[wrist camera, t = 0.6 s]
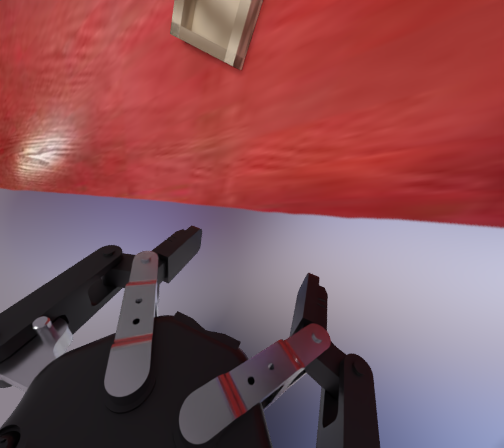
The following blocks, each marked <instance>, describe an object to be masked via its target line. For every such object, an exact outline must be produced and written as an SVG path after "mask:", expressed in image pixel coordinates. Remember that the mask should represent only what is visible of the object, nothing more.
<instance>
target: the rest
mask: <svg viewBox="0 0 504 448" xmlns="http://www.w3.org/2000/svg"><path fill="white" fill-rule="evenodd" d="M262 2H263V0H175V1H174V9H173V16H172V24H171V31H170V34H172V35H173V36H175V37H177V38H179V39H181V40H183V41H185V42H187V43H189V44H191V45H193V46H195V47H197V48H198V49H200V50H202V51H204V52H206V53H208V54H210V55H212V56H214V57H216V58H218V59H220V60H222V61H223V62H225V63H227V64H229V65H231V66H233V67H235V68H237V69H239V70H242V66H243V63H244V60H245V57H246V54H247V50H248V47H249V44H250V41H251V37H252V34H253V31H254V28H255V25H256V21H257V18H258V15H259V12H260V8H261V5H262Z"/></svg>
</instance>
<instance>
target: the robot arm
mask: <svg viewBox="0 0 504 448" xmlns="http://www.w3.org/2000/svg"><path fill="white" fill-rule="evenodd" d="M201 237H202V229H200V228H197V227H195V226H191V227H189V228H188V229H187V230H183V229H182V230H180V231H177V232H175V233H174V234H173V235H171V237H169V238H168V239H167V240H165V241H164V242H162V243H161V244H160V245H159V246H157V247H156V248H155V249H153V250H152V251H143V252H140V253H138V254H137V255H131V254H124V253H122V249H121V248H120V247H119V246H115V245H108V246H104V247H102V248H100V249H98V250H97V251H95V252H93V253H92V254H90V255H89V256H87V257H86V258H84V259H83V260H81V261H80V262H78V263H77V264H75V265H74V266H72V267H71V268H69V269H68V270H66V271H64V272H63V273H61V274H60V275H58V276H57V277H55V278H54V279H52V280H51V281H49V282H48V283H46V284H45V285H43V286H42V287H40V288H39V289H37V290H35V291H34V292H32V293H31V294H29V295H28V296H26V297H25V298H24V299H22V300H20V301H19V302H17V303H16V304H14V305H13V306H11V307H10V308H8V309H7V310H5V311H3V312H2V313H0V388H6V387H10V386H15V387H17V388H19V389H21V390H23V391H25V392H26V393H25V394H24V396H23V398H22V400H21V401H20V403H19V404H18V406H17V407H16V409H15V410H14V411H13V413H12V414H11V416H10V417H9V418H8V419H7V421H6V422H5V423H4V424H3V425H2V427H1V428H0V448H273V447H272V443H271V439H270V435H269V431H268V428H267V424H266V420H265V415H264V412H263V411H264V410H265V409H266V408H267V407H268V406H270V405H271V404H272V403H273V402H274V401H276V399H278V398H279V397H280V396H281V395H282V394H283V393H284V392H285V391H286V390H287V389H288V388H290V387H291V386H292V385H293V384H294V383H295V382H297V381H298V380H299V379H300V378H301V377H302V376H304V375H305V374H306V373H308V374H309V375H310V376H311V377H312V378H313V379H314V380H315V381H316V382H317V383H318V384H319V385H320V386H321V387H322V389H321V400H320V410H319V421H318V432H317V443H316V448H380V441H379V431H378V420H377V410H376V400H375V390H374V380H373V373H372V371H371V368H370V366H369V365H368V364H367V362H365V360H364V359H363V358H361V357H360V356H358V355H356V354H348V355H346V354H344V353H343V352H342V351H341V350H339V349H338V348H337V347H336V346H335V345H334V344H333V343H332V342H331V340H330V336H329V334H328V333H327V298H328V296H327V292H326V290H325V288H324V287H322V286H319V277H318V276H315V275H313V274H310V273H308V274H307V276H306V277H305V279H304V281H303V283H302V285H301V287H300V289H299V292H298V295H297V300H296V305H295V311H294V316H293V322H292V327H291V332H290V337H289V338H288V339H286V340H284V341H283V340H279V341H277V342H275V343H274V344H272V345H271V346H269V347H267V348H266V349H264V350H263V351H261V352H259V353H258V354H256V355H255V356H253V357H252V358H250V359H248V357H247V356H246V354H245V353H244V352H243V351H242V350H241V349H240V348H239V345H240V341H237V340H236V339H234V338H232V337H230V336H227V335H225V334H222V333H217V332H211V331H207V330H205V329H204V328H202V327H201V326H200V325H199V324H198V323H197V322H196V321H195V320H194V319H192V318H191V317H188V316H186V315H184V314H182V313H180V312H178V311H177V313H176V314H175V315H174V316H169V315H164V316H158V307H159V284H160V283H161V282H162V281H164V282H166V283H169V282H170V281H171V280H172V279H173V278H174V277H175V276H176V275H177V274H178V273H179V272H180V271H181V270H182V268H183V267H184V266H185V265H186V264H187V263H188V262H189V261H190V260H191V259H192V258H193V257H194V256H195V255H196V254H197V252H198V251H199V249H200V245H201ZM122 288H125V291H124V296H123V301H122V306H121V311H120V316H119V321H118V325H117V330H116V333H114V334H111V335H109V336H106V337H104V338H101V339H99V340H96V341H94V342H91V343H89V344H86V345H84V346H81V347H79V348H76V349H74V350H71V351H69V352H67V353H65V352H66V349H67V348H68V347H69V346H70V344H71V342H72V340H73V334H74V333H75V332H76V331H77V330H78V329H79V328H80V327H81V326H82V325H84V324H85V323H86V322H87V321H88V320H89V319H90V318H91V317H92V316H93V315H94V314H95V313H96V312H97V311H98V310H99V309H101V308H102V307H103V306H104V305H105V304H106V303H107V302H108V301H109V300H110V299H111V298H112V297H113V296H115V295H116V294H117V293H118V292H119V291H120V290H121V289H122Z"/></svg>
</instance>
